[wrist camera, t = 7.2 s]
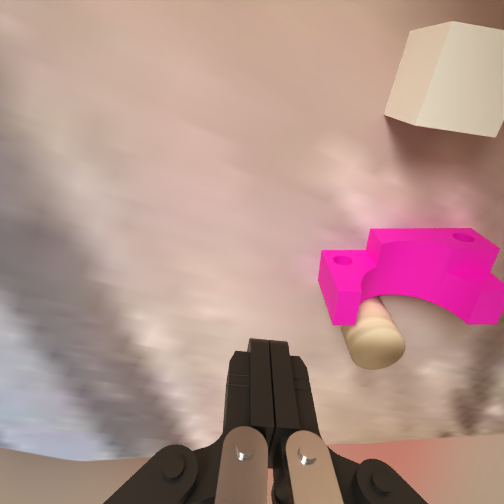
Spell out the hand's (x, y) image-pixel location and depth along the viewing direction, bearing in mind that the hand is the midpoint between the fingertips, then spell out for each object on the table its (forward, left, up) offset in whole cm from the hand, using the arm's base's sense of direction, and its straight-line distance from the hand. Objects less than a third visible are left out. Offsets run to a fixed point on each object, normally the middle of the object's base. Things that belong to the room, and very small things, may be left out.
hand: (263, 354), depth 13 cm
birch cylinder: (+11, +13, -20) cm, 27 cm away
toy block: (+5, +15, -21) cm, 26 cm away
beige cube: (-11, +13, -21) cm, 27 cm away
